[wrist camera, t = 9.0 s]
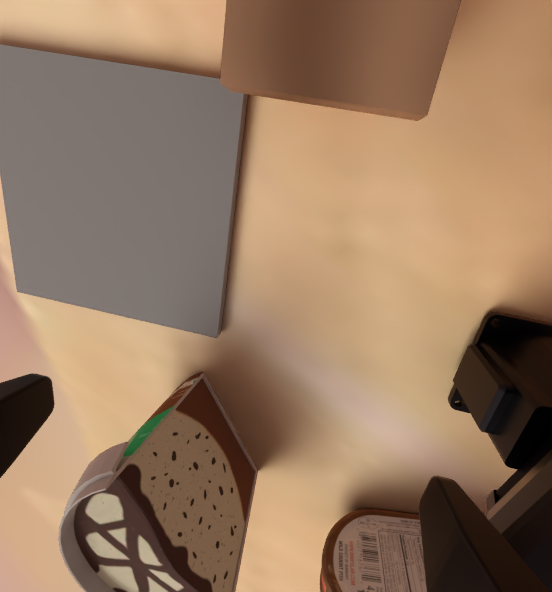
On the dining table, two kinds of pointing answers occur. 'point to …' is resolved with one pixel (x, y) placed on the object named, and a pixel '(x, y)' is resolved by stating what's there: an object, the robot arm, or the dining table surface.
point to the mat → (120, 185)
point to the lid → (339, 52)
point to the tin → (374, 553)
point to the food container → (164, 503)
